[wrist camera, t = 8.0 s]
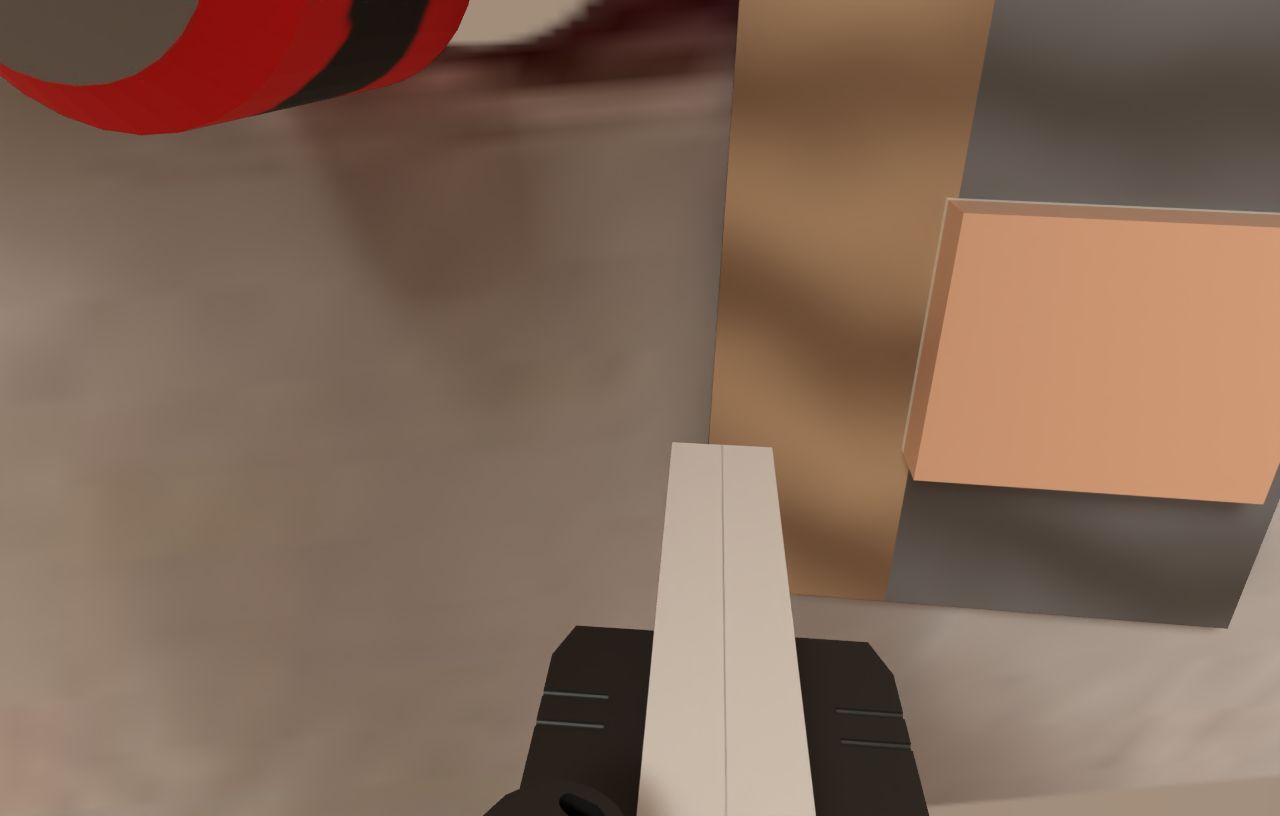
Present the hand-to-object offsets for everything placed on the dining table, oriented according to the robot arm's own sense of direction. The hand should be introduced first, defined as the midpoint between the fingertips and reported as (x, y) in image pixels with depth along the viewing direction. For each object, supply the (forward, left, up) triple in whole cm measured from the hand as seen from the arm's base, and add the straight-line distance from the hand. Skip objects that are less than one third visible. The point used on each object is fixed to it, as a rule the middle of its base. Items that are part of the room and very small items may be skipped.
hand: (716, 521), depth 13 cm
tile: (+1, +6, -13) cm, 14 cm away
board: (+1, +9, -15) cm, 17 cm away
